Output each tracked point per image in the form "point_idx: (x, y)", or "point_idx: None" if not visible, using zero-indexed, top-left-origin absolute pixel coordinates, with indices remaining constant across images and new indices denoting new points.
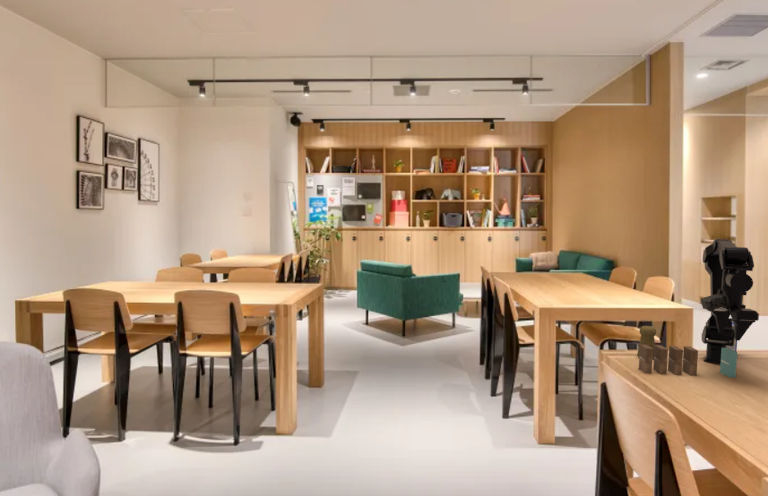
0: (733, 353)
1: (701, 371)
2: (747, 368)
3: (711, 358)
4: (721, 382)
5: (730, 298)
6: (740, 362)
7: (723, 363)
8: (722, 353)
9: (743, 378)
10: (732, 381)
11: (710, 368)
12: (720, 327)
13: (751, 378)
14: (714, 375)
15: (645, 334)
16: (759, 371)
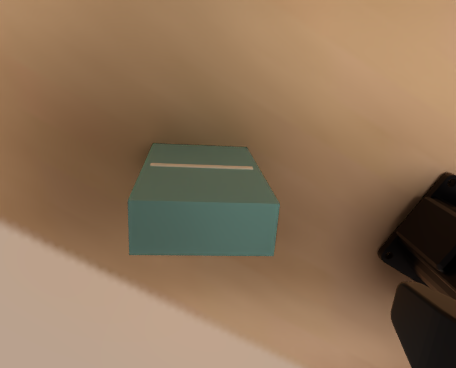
0: (132, 220)
1: (256, 35)
2: (320, 321)
3: (431, 205)
4: (28, 31)
5: None
6: None
7: (221, 163)
8: (251, 186)
9: None
10: (69, 118)
11: (319, 133)
12: (446, 342)
13: None
14: (178, 74)
15: None
16: (274, 346)
